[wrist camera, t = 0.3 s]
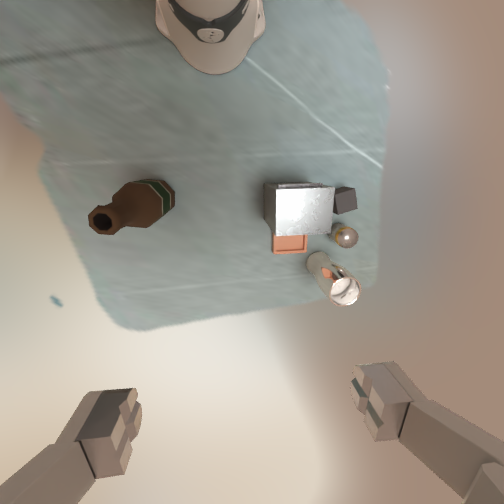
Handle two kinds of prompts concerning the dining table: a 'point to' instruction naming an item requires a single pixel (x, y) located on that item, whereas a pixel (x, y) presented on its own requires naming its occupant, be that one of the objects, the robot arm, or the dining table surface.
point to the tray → (289, 244)
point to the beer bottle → (133, 206)
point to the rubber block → (344, 200)
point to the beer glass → (333, 279)
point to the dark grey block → (298, 208)
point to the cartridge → (343, 235)
